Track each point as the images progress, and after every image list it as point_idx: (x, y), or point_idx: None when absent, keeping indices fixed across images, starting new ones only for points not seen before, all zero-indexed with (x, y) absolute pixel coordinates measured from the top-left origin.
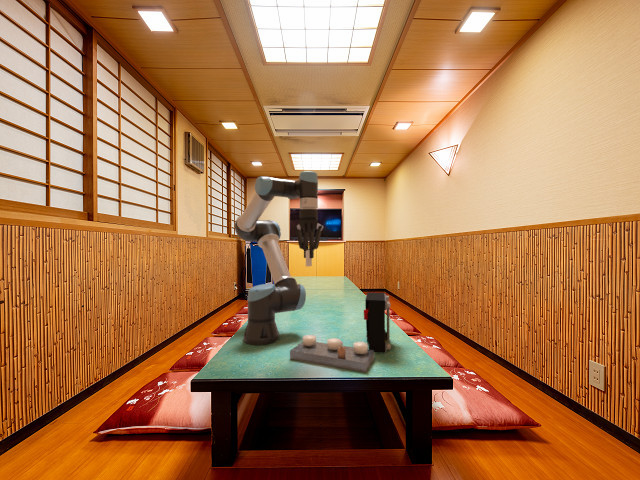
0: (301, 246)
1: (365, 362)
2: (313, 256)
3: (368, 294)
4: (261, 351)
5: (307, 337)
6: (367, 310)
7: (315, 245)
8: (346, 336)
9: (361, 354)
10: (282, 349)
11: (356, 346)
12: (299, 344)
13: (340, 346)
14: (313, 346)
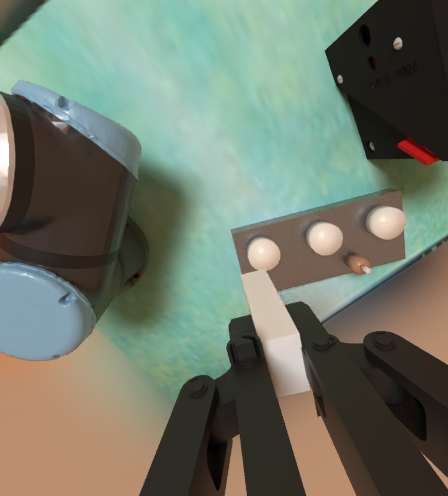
0: (225, 449)
1: (404, 256)
2: (310, 310)
3: (444, 24)
4: (170, 299)
5: (262, 261)
6: (439, 159)
7: (419, 415)
8: (269, 85)
9: None
10: (197, 265)
11: (386, 239)
12: (240, 261)
13: (362, 270)
14: None
